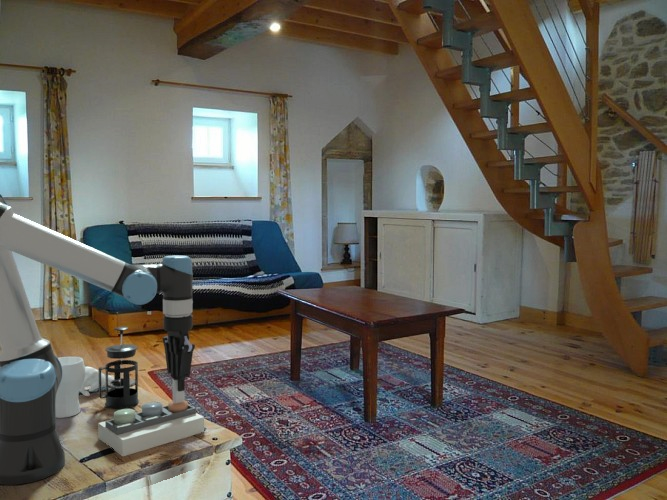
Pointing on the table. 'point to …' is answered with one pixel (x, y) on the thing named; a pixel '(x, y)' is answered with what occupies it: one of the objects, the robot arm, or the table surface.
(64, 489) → the table surface
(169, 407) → the button terracotta
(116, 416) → the button sage
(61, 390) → the cup
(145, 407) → the button slate
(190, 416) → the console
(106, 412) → the table surface
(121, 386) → the french press
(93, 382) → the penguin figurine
